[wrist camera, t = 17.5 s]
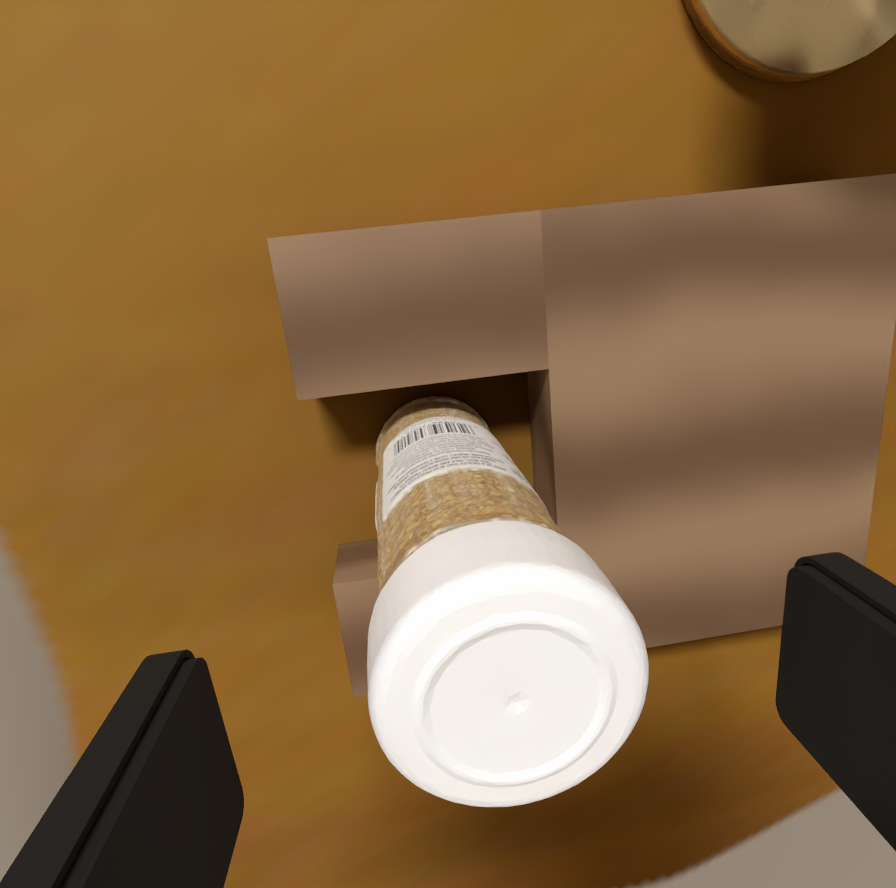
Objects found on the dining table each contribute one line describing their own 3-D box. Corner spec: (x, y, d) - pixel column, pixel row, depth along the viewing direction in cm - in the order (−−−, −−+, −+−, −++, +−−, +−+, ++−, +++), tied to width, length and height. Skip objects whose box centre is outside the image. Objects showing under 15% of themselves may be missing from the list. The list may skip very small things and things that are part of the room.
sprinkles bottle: (374, 504, 22) (362, 831, 9) (377, 389, 20) (367, 572, 8) (489, 506, 22) (635, 814, 9) (499, 394, 21) (684, 572, 8)
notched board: (284, 245, 19) (266, 238, 16) (838, 187, 20) (914, 171, 17) (357, 646, 23) (353, 697, 20) (803, 574, 25) (858, 612, 22)
